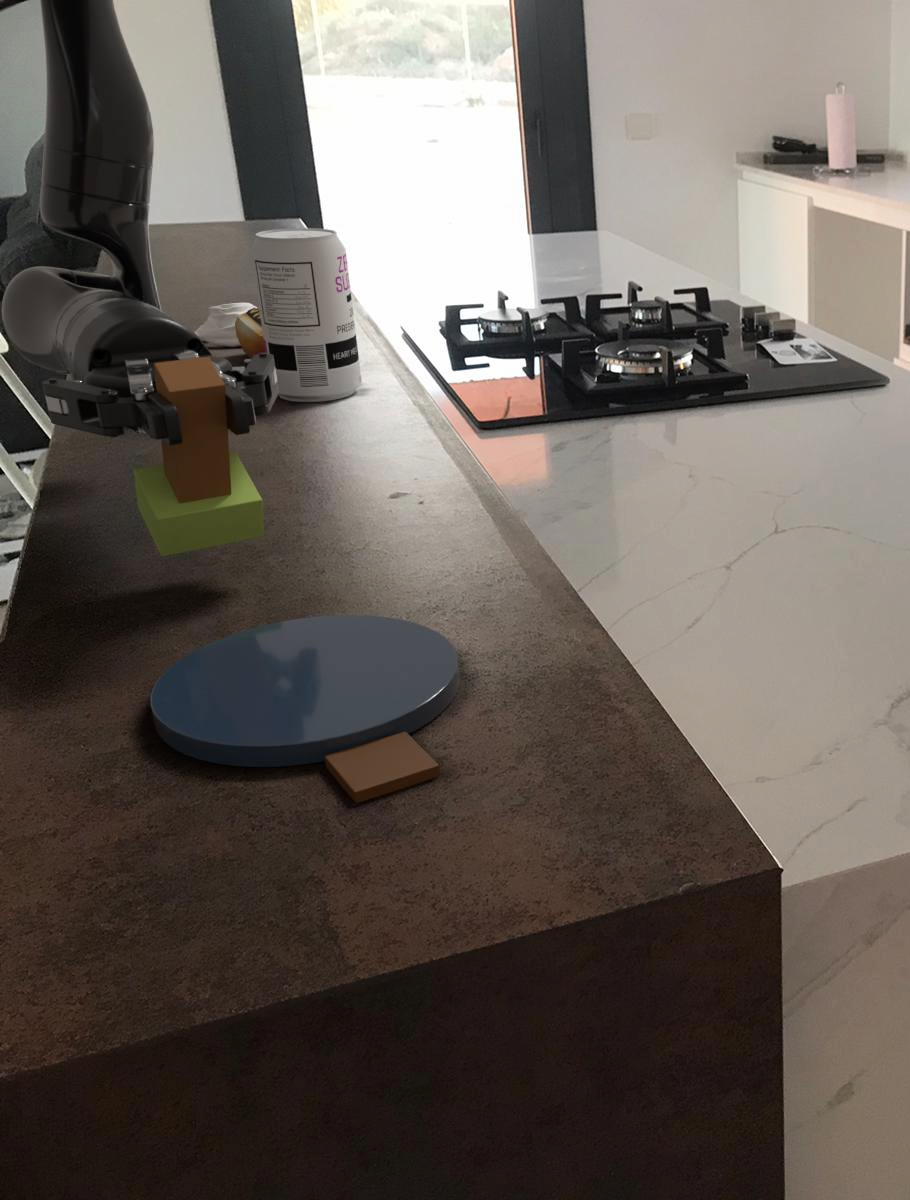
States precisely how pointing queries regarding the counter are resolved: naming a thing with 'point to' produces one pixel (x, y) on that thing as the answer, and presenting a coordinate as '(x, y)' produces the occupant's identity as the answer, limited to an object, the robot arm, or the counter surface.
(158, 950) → the counter surface
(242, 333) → the golden brown half oval
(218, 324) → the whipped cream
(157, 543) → the sponge brush
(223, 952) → the counter surface
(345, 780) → the food crust
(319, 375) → the supplement can
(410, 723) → the plate
